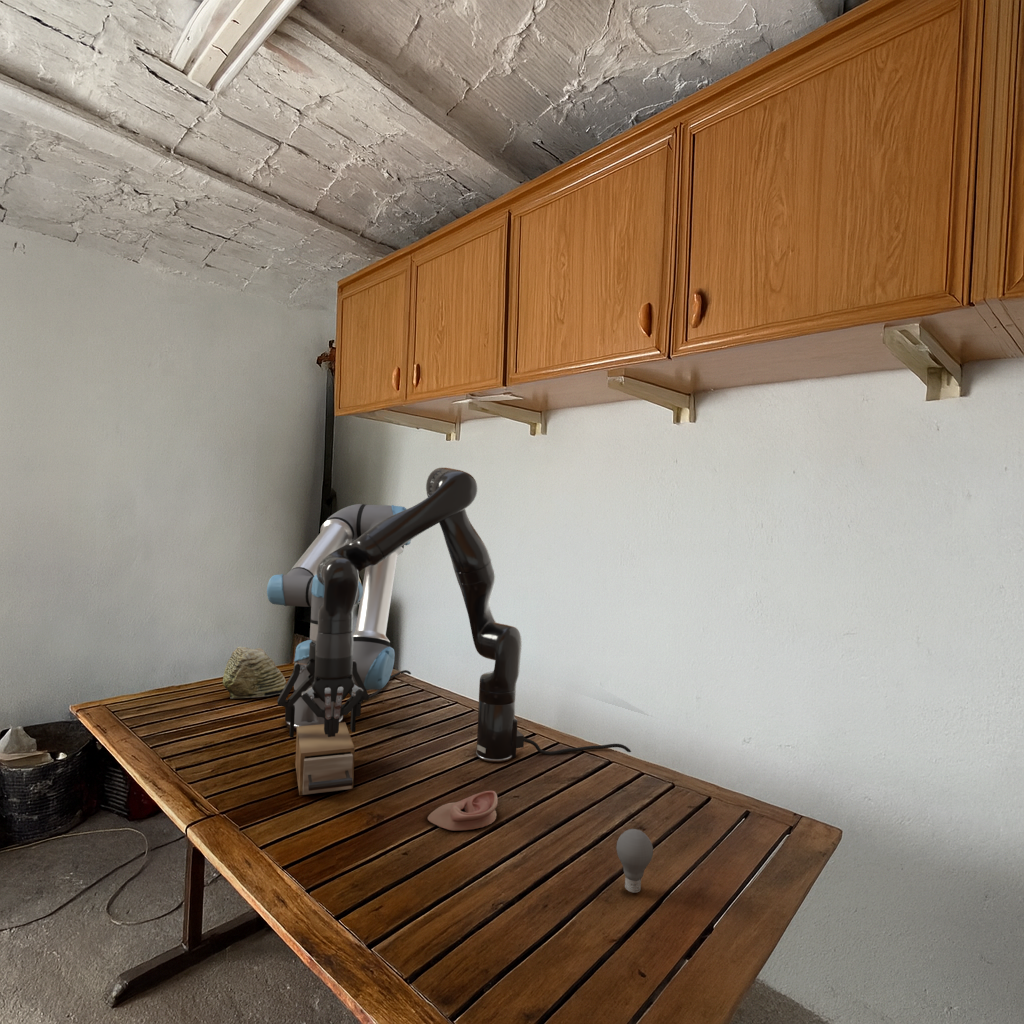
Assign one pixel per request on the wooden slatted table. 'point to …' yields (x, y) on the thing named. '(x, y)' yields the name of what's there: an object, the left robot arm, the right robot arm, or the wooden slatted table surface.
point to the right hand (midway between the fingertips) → (331, 735)
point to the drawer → (327, 773)
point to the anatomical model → (467, 812)
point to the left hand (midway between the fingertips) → (322, 733)
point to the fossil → (252, 674)
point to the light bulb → (634, 857)
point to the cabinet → (320, 746)
